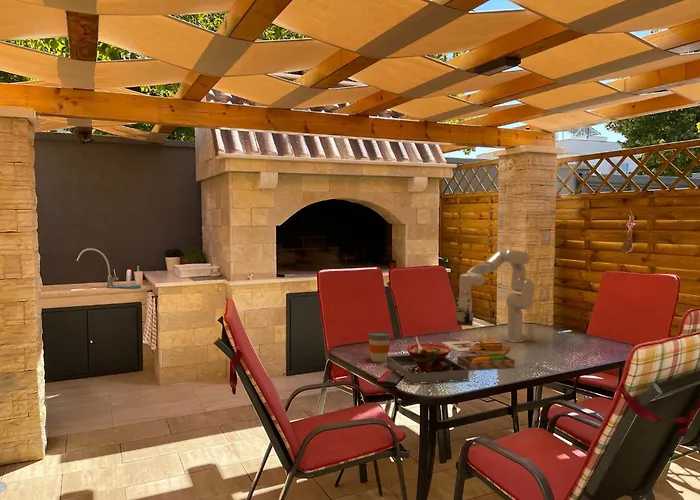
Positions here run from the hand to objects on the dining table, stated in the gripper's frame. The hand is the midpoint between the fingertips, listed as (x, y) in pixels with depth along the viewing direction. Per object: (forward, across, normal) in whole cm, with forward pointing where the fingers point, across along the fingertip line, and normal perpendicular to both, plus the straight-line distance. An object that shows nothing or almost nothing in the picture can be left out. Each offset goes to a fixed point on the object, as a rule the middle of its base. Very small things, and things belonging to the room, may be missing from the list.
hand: (464, 321), depth 340 cm
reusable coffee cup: (+16, -20, +63) cm, 68 cm away
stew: (+16, -46, +44) cm, 66 cm away
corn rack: (+16, -44, +9) cm, 48 cm away
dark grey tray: (+16, -50, +47) cm, 70 cm away
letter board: (+16, 0, 0) cm, 16 cm away
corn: (+16, -47, +9) cm, 50 cm away
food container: (+2, +1, 0) cm, 2 cm away
